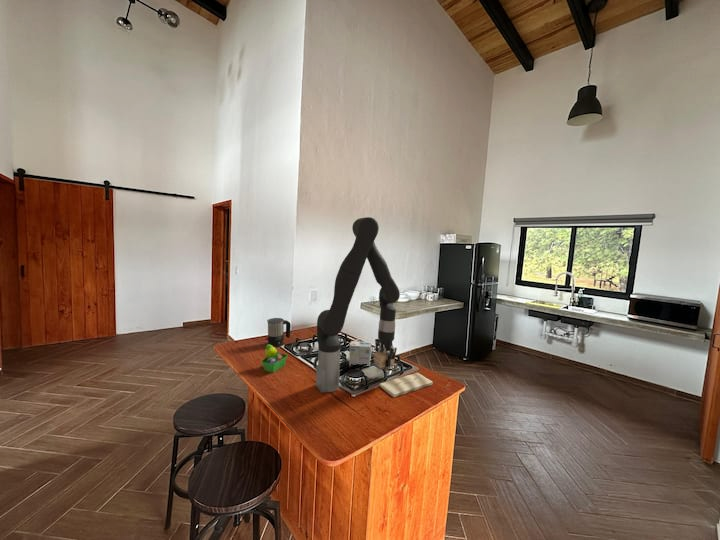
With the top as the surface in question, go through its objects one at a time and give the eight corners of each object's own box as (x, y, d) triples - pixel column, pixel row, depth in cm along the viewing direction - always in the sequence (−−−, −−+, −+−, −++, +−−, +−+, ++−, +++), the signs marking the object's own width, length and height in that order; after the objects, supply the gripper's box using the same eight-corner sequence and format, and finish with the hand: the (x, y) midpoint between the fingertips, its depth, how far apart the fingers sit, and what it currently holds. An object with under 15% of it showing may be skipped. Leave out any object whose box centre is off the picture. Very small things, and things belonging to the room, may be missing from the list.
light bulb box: (370, 361, 151) (371, 341, 149) (369, 367, 144) (370, 346, 143) (350, 360, 152) (351, 340, 150) (348, 365, 145) (349, 345, 144)
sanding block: (380, 369, 130) (381, 356, 129) (373, 364, 134) (374, 352, 134) (394, 366, 134) (395, 353, 134) (387, 361, 138) (388, 349, 138)
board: (393, 397, 118) (394, 394, 118) (379, 386, 126) (379, 383, 126) (432, 384, 130) (432, 381, 129) (417, 374, 138) (417, 372, 138)
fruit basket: (273, 374, 134) (273, 351, 132) (258, 370, 137) (258, 347, 135) (288, 364, 144) (288, 342, 143) (273, 361, 147) (273, 339, 146)
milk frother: (275, 348, 163) (274, 323, 161) (256, 342, 171) (255, 318, 169) (292, 341, 175) (293, 317, 173) (274, 336, 183) (274, 313, 181)
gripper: (371, 325, 136) (368, 359, 138) (389, 334, 124) (386, 372, 126) (384, 323, 140) (381, 357, 142) (403, 332, 128) (400, 369, 130)
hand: (384, 364), depth 134 cm, fingers closed on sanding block, 5 cm apart
